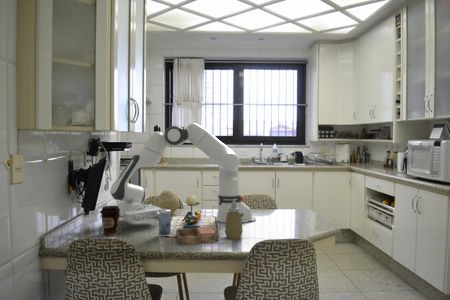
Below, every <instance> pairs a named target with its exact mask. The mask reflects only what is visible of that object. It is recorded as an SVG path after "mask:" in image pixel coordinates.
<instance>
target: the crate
mask: <svg viewBox="0 0 450 300" xmlns="http://www.w3.org/2000/svg"><path fill="white" fill-rule="evenodd" d="M211 228H212V229H213V230H214V231H215V235H208V236H197V227H195V228H193V227H192V228H191V227H190V228H178V229H177V228H176V229H175V231H176V232H175V233H176V234H175V236H176V238H177V241H178V242H177V243H178V245H188V244H189V245H190V244H200V243H213V242H214V243H215V242H216V243H217V242H219V234H218V232H217V231H216V230H215V229H214V228H213V227H212V226H211Z"/></svg>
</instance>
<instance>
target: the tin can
mask: <svg viewBox="0 0 450 300" xmlns="http://www.w3.org/2000/svg"><path fill="white" fill-rule="evenodd" d="M171 222H172V215H171V210H170V209H160V210H159V217H158V237H160V238H161V236H163V237H166V236H170V235H171V234H172V232H171V231H172V229H171V228H172V223H171Z"/></svg>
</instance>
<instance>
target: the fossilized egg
mask: <svg viewBox="0 0 450 300" xmlns="http://www.w3.org/2000/svg"><path fill="white" fill-rule="evenodd" d="M179 204H180V201H179V197H178V195H177V194H176V192H175V191H174V190H173V189H170V188H169V189H164V190H163V191H162V192H161V193H160V194H159V196H158V198H157V207H160V208H161V209H170V210H171V214H174V213H175V212H176V211H177V209H178V208H179Z"/></svg>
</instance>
